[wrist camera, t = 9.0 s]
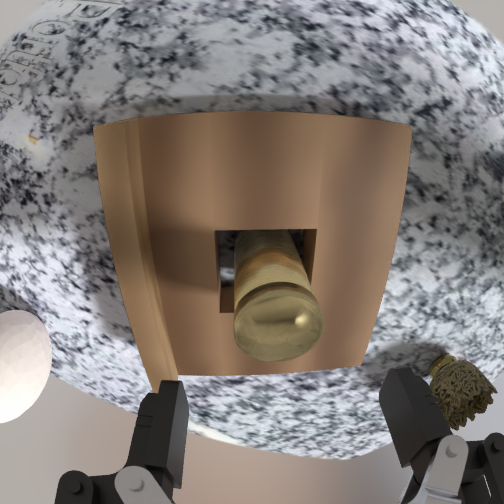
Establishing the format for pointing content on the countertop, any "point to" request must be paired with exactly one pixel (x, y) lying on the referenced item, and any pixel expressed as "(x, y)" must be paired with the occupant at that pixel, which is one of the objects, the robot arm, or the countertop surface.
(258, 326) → the brass cylinder peg
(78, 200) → the countertop surface
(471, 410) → the cup
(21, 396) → the egg
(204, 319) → the jig
